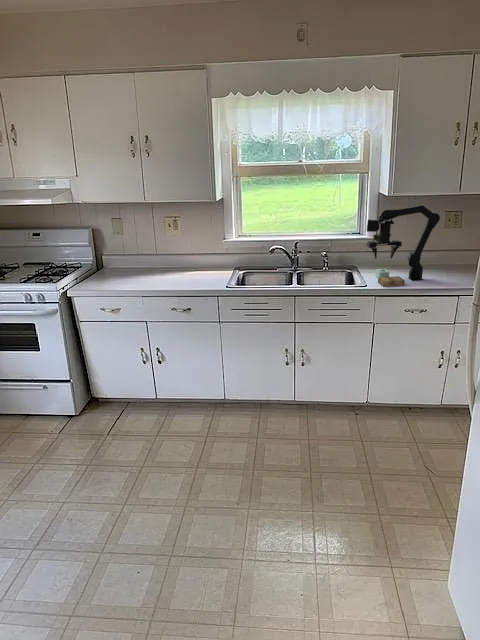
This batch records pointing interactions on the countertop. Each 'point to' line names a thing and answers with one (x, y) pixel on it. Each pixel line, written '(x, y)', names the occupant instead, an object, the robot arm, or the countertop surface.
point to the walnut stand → (391, 281)
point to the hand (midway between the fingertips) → (383, 258)
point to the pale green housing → (382, 273)
